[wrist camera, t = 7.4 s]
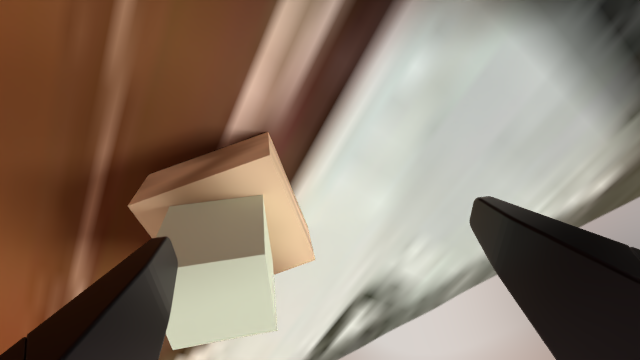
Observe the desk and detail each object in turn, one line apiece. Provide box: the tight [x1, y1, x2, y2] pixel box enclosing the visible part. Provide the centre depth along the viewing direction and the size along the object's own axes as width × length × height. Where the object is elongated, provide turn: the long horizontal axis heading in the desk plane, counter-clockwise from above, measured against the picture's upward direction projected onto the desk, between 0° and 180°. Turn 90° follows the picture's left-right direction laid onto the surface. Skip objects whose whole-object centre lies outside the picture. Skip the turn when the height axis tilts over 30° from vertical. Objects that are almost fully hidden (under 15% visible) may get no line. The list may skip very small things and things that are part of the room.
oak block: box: [128, 132, 315, 274], centre depth 20 cm, size 8×8×4 cm
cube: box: [156, 195, 277, 350], centre depth 16 cm, size 5×5×5 cm
